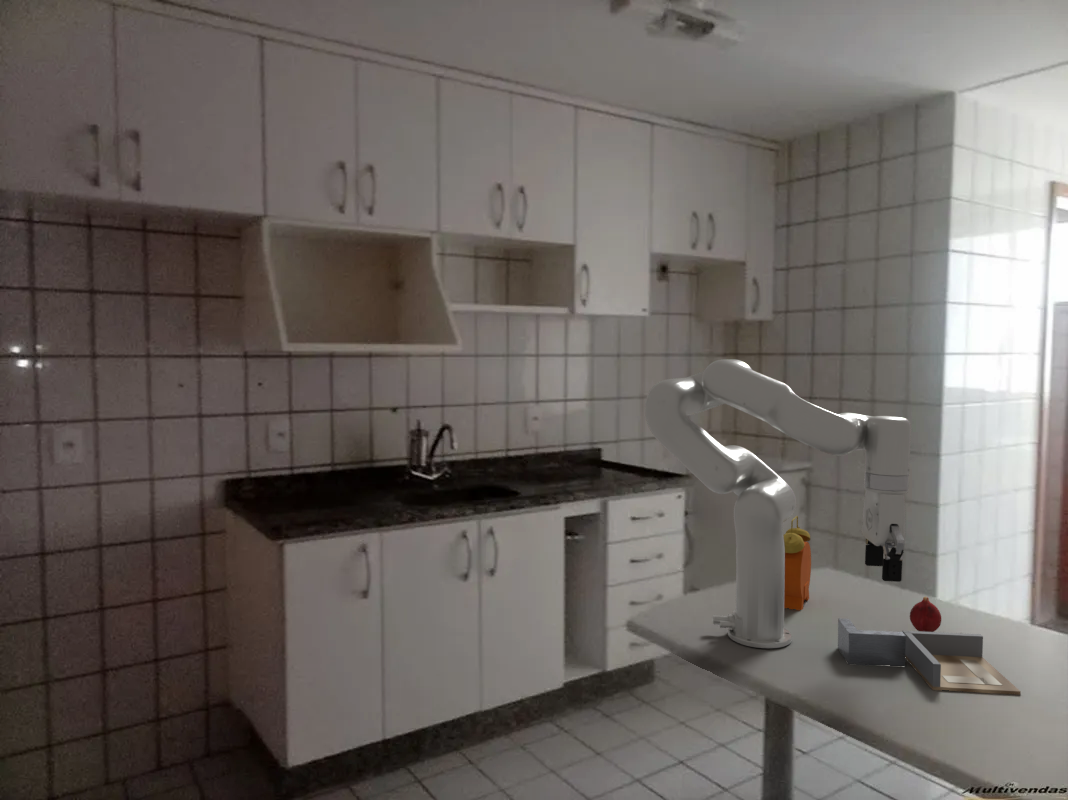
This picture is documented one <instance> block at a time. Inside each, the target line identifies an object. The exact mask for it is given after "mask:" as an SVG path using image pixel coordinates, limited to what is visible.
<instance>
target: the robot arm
mask: <svg viewBox="0 0 1068 800" xmlns="http://www.w3.org/2000/svg"><path fill="white" fill-rule="evenodd" d="M723 405H727V406H730V407H731V408H735V409H737V410H739V411H741V412H743V413H746V414H748V415H749V416H752V417H754V418H757V419H759V420H761V421H763V422H765V423H767V424H768V425H770V426H771V427H772V428H774V429H776V430H778V431H780V432H781V433H783V434H784V435H786V436H789V437H790V438H791V439H794V440H796V441H798V442H800V443H802V444H804V445H807V446H808V447H811V448H813V449H815V450H817V451H820V452H822V453H825V454H828V455H831V456H836V457H838V456H840V457H841V456H847V455H849V454H851V453H853V452H856V451H865V453H864V455H865V456H864V457H865V458H864V477H863V480H864V481H863V489H864V490H865V494H864V500H863V508H862V521H861V530H860V531H861V535H862V536H863V537H864V538H865V553H864V554H865V556H864V564H865V565H866V566H867V567H882V569H881V579H882V581H884V582H897V583H898V582H901V581H902V575H903V574H902V573H903V572H902V571H903V560H904V553H905V552H904V547H905V535H906V501H905V494H907V493H909V483H910V482H909V481H910V463H911V462H910V460H911V459H910V458H911V442H912V441H911V438H912V424H911V422H910V420H909V419H908V418H905V417H900V416H894V415H892V416H890V415H875V416H873V415H865V414H860V413H854V412H840V413H834V412H833V411H829V410H828V409H825V408H822V407H820V406H818V405H816V404H813V403H811V402H809V401H808V400H805V399H804V398H801V397H800V396H799V395H797V394H796V393H795V392H794V391H793V390H792V388H791V387H790V386H789V385H788V384H786V383H784V382H783V381H780V380H777V379H775V378H772V377H770V376H767V375H766V374H762V373H761V372H757V371H756V370H753V369H752V367H751V366H750V365H749V364H747V363H746V362H744V361H742V360H740V359H730V358H729V359H727V358H723V359H717V360H714V361H713V362H711V363H710V364H708V365H707V366H706V368H705V369H704V371H701V372H700V371H699V372H698V373H696V374H692V375H689V376H687V377H678V378H676V377H675V378H667V379H663V380H660V381H659V382H656V383H655V384H654V385H653V386H652V387H651V388H650V390H649V392H648V393H647V395H646V399H645V403H644V416H645V417H644V418H645V421H646V424H647V426H648V429H649V431H650V433H651V434H652V436H653V437H654V438H655V439H656V441H658V443H660V445H661V446H663V447H664V448H665V449H666V450H667V451H668V452H669V453H670V454H671V455H672V456H673V457H675V458H676V459H677V461H679V462H680V463H681V464H682V465H683V466H684V467H685V468H686V469H687V470H688V471H689V472H690V473H691V474H692V475H693V476H695V478H696V479H698V480H699V481H700V482H701V483H702V484H703V485H704V486H705V487H706V488H707V489H708V490H709V491H711V492H713V493H715V494H719V495H725V494H730V493H732V492H733V493H734V494H735V495H736V496H737V498H736V500H735V502H734V506H733V524H734V531H735V548H736V549H735V551H736V552H735V559H736V561H735V562H736V563H735V565H736V568H735V569H736V571H735V573H736V574H735V575H736V576H735V577H736V578H735V579H736V580H735V583H736V584H735V609H733V610H732V613H729V614H728V615H721V614H712V625H719V628H721V629H724V628H725V629H726V628H728V629H727V635H728V637H729V638H730V639H731V640H732V641H734V642H736V643H737V644H740V645H743V646H746V647H751V648H757V649H779V648H783V647H787V646H788V645H790V644H791V643H792V641H793V635H792V633H791V632H790V631H789V630H788V629H787V628H785V608H784V590H785V546H784V536H783V535H784V527H783V526H784V525H783V524H784V523H785V522H787V520H789V519H790V518H791V517H792V516H793V514H794V513H795V511H796V508H797V497H796V494H795V492H794V490H793V489H792V487H791V486H790V485H789V484H788V482H786V480H784V479H783V478H782V477H781V476H780V475H779V474H777V472H775V471H774V470H773V469H772V468H771V467H769V466H768V465H767V464H766V463H765V462H764V461H763V460H761V459H760V458H759V457H758V456H757V455H756V454H754V453H753V452H752V451H751V450H748V449H747V448H745V447H743V446H740V445H733V444H732V445H723V444H722V443H720V442H719V441H718V440H716V439H715V438H714V437H712V436H711V434H709V432H708V431H707V430H705V429H704V428H703V427H702V426H700V425H698V424H697V423H696V422H694V421H693V420H691V419H690V418H689V417H688V416H692V415H697V414H699V413H701V412H702V413H703V412H705V411H708V410H710V409H713V408H716V407H717V408H718V407H719V406H723ZM889 549H890V550H889Z"/></svg>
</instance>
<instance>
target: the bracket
mask: <svg viewBox="0 0 1068 800" xmlns="http://www.w3.org/2000/svg"><path fill="white" fill-rule="evenodd" d="M837 619H838V620H837V621H838V622H837V649H838V651H839V650H840V651H839V652H840V654H841V655H842V657H843V659H844V660H845V662H846V661H847V662H846V663H847V665H850V664H856V665H855V666H869V665H890V666H905V667H906V658H905V646H906V636H905V634H904V633H903V632H902V631H892V630H891V631H890V630H889V631H888V630H871V629H870V630H869V629H866V630H865V629H857V627H856V626H855V624H854V623H853V622H852V621H851V619H850V618H840V617H839V618H837Z"/></svg>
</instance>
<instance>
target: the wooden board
mask: <svg viewBox="0 0 1068 800" xmlns="http://www.w3.org/2000/svg"><path fill="white" fill-rule="evenodd" d="M932 656H933V657H934V658H935V659H936V660H937V661H938V662H939V663H940V664H941V678H940V687H933V686H932V685H931V684H930V683H929V682H928V680H927V679H926V678H925V677H924V676H923V675H922V673H921V672H920V671H919V670H918V669H917V668H916V667H915V665H914V664H913V663H912V662H911V661H910V660H909V658H908V657H907V656H906V655H905V657H906V658H905V660H906V661H907V660H908V661H909V662H910V663H911V664H912V665H911V664H910V663H909V662H908V661H907V662H908V663H909V664H910V665H911V666H912V667H913V669H914V668H915V669H916V670H915V669H914V670H915V671H916V672H917V674H919V676H920V675H921V676H922V677H921V676H920V677H921V678H922V680H924V682H925V683H926V684H927V685H928V687H930V689H931V690H932V691H942V690H949V691H948V692H960V691H961V692H962V691H963V692H965V693H980V694H981V693H982V694H996V695H997V694H999V695H1013V696H1014V695H1015V696H1016V695H1017V696H1021V690H1020V689H1019V688H1017V686H1015V684H1013V683H1012V682H1010V680H1008V678H1006V677H1005V676H1004V675H1003V674H1002V673H1001V672H1000V671H998V670H997V669H996V668H995V667H994V666H993V665H992V664H991V663H990V662H989V661H988V660H987V659H985V658H984V657H983V656H982V657H969V656H949V655H932Z"/></svg>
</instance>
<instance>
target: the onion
mask: <svg viewBox="0 0 1068 800" xmlns="http://www.w3.org/2000/svg"><path fill="white" fill-rule="evenodd" d="M940 612H941V611H940V610H939V609H938V607H937V606H936V605H935V604H934V603H932V602H931V601H930V599H929V597H928V596H924V597H923V598H922V600H921V601H919V602H917V603H916V604H914V605H913V606H912V608H911V609H910V612H909V619H910V622H911V624H912V626H913V628H914V629H916V630H917V631H922V632H936V631H937V630H938V629H939V628H940V627H941V623H942V614H941V613H940ZM916 630H915V631H916Z"/></svg>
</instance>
